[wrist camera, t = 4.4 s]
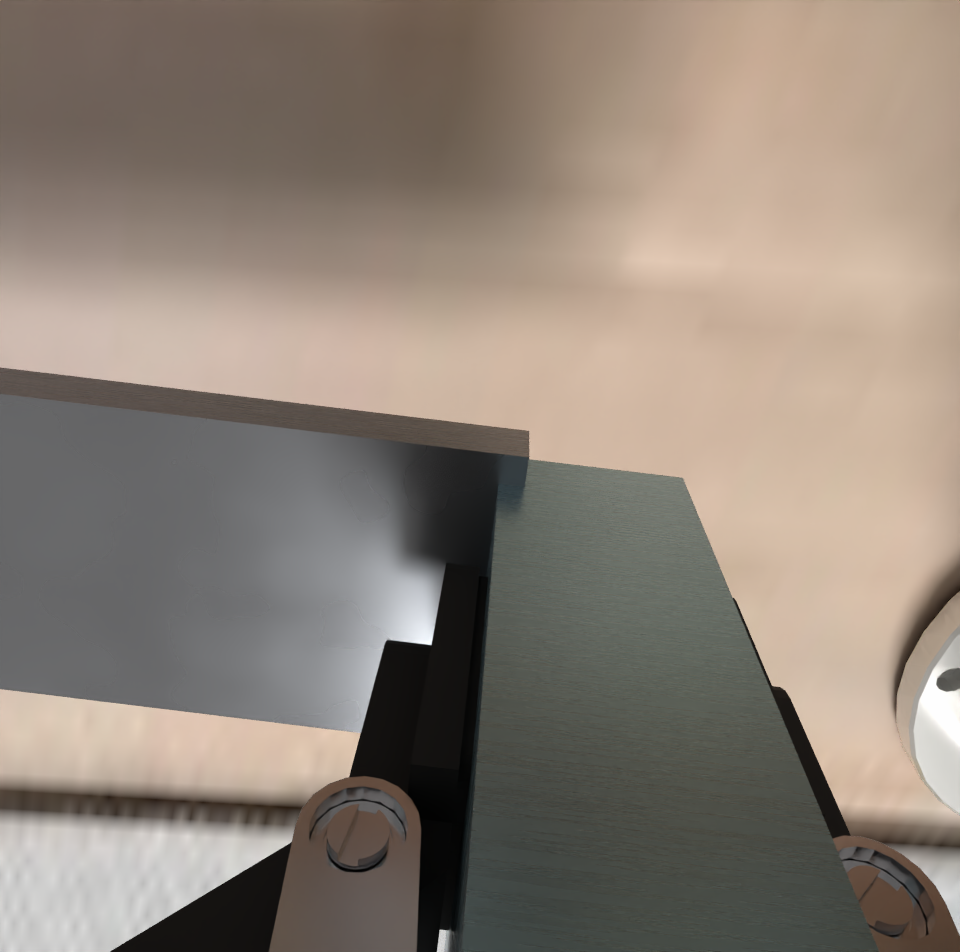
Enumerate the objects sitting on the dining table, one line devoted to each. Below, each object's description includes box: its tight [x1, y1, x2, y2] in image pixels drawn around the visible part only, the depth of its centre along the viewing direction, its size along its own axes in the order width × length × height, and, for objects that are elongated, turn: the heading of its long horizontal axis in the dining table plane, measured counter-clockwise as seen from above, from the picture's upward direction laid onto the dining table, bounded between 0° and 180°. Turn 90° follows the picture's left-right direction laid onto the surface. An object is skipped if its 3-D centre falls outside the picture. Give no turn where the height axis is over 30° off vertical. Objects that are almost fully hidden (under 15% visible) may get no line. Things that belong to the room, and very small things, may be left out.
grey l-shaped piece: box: [0, 368, 879, 952], centre depth 9 cm, size 17×6×9 cm, turn 84°
